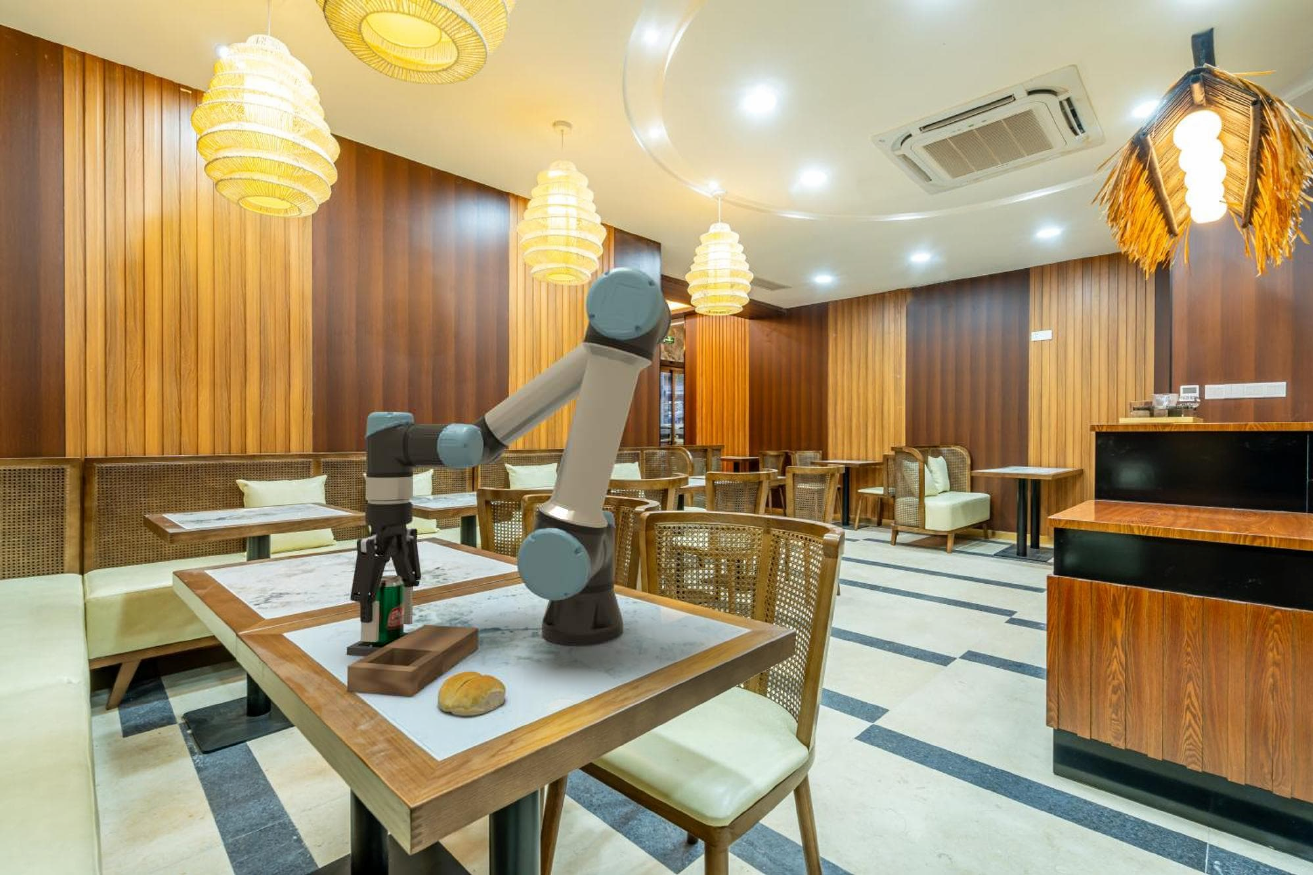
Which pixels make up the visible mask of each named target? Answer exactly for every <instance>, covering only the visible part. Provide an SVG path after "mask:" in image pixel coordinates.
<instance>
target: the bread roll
mask: <svg viewBox="0 0 1313 875" xmlns="http://www.w3.org/2000/svg"><path fill="white" fill-rule="evenodd" d="M506 690H507V689H506V687H505V684H504V683H503V682H502V681H501V680H499V679H498V678H496V677H494V676H492V675H489V674H481V673H480V672H477V671H464V672H459V673H456V674H454V675H452V676H450V677H448V678H447V679H446V680H445V681H444V682H443V683H442V685H441V686H440V688H439V690H438V694H437V705H438V708H439V709H440V710H442V711H443V712H446V713H451V714H452V715H456V716H461V717H469V716H472V717H473V716H478V715H483V714H485V713H488V712H491V711H493V710H496V709H497V708H499V707H501V705H502V704H503V703H504V701H505V698H506Z"/></svg>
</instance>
